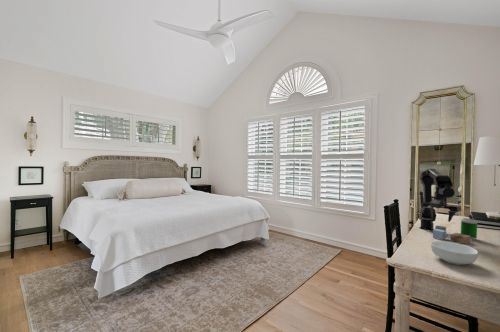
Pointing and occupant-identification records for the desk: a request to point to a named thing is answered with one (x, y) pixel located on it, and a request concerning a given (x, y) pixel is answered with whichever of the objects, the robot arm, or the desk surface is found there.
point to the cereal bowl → (454, 252)
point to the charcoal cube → (440, 228)
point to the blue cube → (439, 234)
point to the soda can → (469, 228)
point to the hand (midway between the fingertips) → (440, 220)
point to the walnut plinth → (460, 238)
